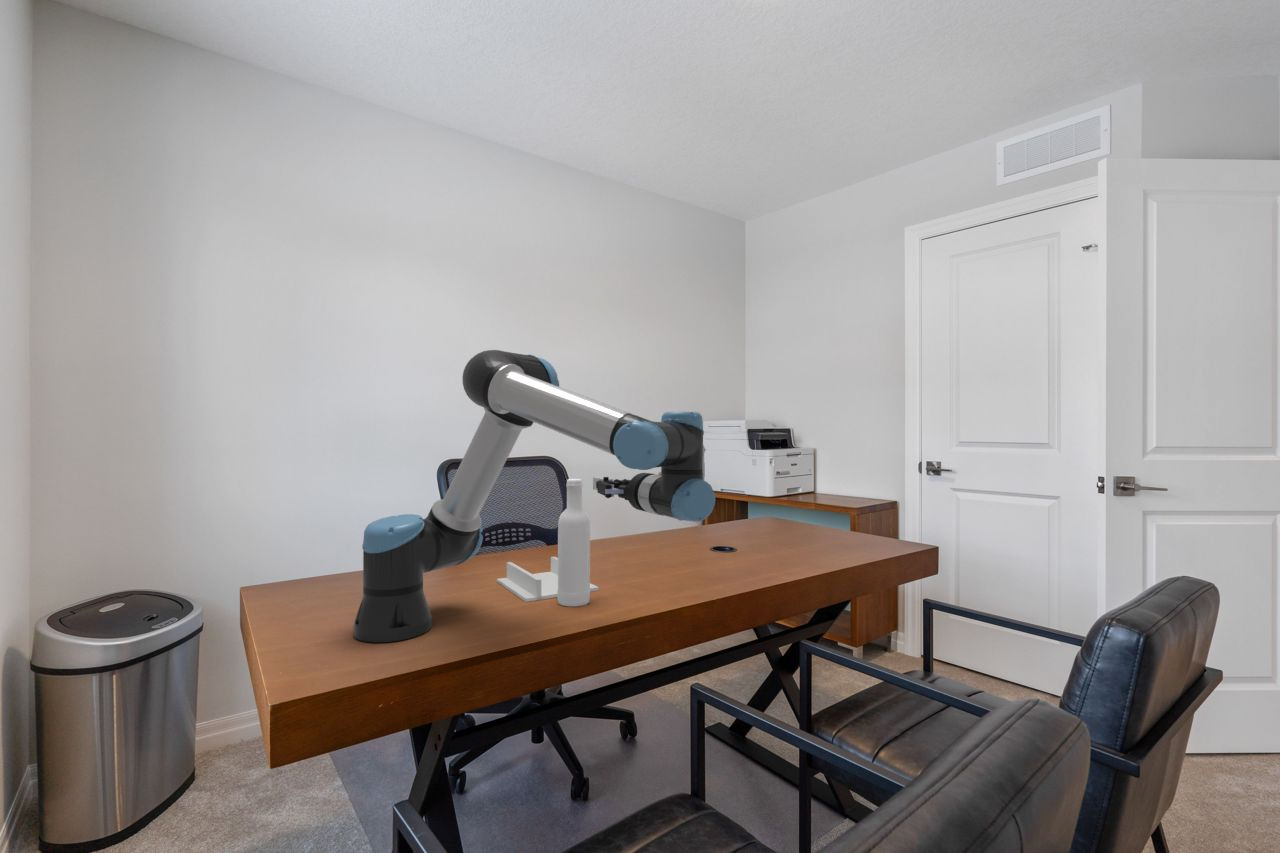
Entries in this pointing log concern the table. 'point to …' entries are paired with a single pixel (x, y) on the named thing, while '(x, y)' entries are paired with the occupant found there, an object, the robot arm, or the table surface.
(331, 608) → the table surface
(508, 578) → the u rest
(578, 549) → the bottle
